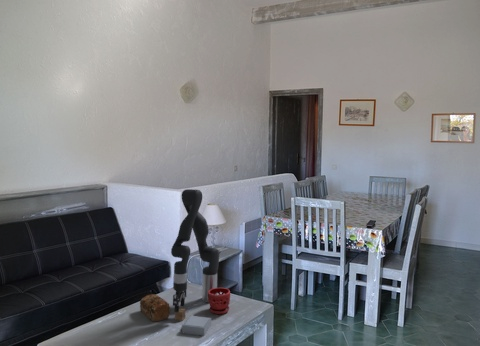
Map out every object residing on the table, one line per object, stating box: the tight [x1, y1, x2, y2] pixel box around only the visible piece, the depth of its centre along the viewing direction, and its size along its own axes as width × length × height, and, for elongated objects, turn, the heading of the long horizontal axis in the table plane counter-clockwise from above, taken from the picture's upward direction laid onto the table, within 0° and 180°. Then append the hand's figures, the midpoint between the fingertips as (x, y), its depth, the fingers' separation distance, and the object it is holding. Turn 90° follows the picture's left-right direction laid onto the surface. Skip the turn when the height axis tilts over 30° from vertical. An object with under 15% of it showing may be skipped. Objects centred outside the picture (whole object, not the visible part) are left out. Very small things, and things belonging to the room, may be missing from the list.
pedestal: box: [181, 315, 212, 337], centre depth 206 cm, size 12×12×4 cm
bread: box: [139, 293, 171, 322], centre depth 222 cm, size 19×11×10 cm, turn 37°
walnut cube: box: [174, 307, 186, 322], centre depth 218 cm, size 4×4×5 cm
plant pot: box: [208, 287, 231, 315], centre depth 229 cm, size 13×13×12 cm
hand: (179, 308), depth 217 cm, fingers open, 8 cm apart
